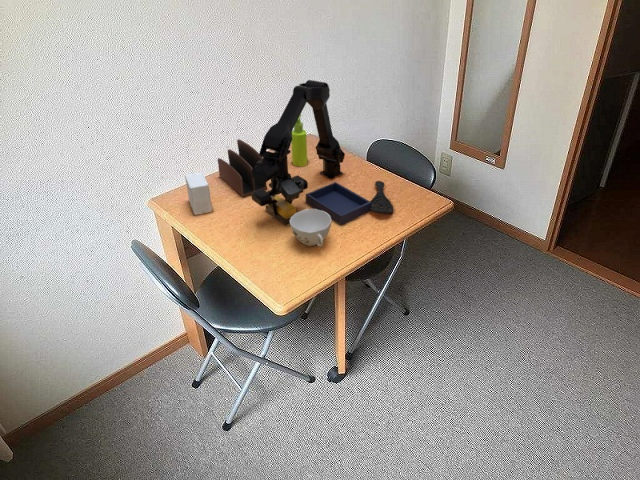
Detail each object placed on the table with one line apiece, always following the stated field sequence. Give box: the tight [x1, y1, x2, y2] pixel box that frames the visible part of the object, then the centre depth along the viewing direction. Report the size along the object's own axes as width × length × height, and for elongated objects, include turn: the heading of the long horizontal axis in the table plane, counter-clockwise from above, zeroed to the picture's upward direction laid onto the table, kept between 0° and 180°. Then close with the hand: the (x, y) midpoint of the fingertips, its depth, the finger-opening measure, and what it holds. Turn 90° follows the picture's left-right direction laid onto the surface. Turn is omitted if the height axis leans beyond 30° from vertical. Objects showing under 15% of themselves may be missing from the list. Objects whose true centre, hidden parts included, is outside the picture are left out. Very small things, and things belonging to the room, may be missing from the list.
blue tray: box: [305, 181, 373, 226], centre depth 166 cm, size 19×14×4 cm
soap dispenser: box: [291, 113, 308, 167], centre depth 189 cm, size 6×7×20 cm
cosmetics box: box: [184, 171, 213, 216], centre depth 165 cm, size 10×6×10 cm, turn 23°
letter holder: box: [217, 138, 268, 198], centre depth 178 cm, size 10×20×14 cm, turn 34°
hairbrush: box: [369, 180, 394, 215], centre depth 169 cm, size 8×4×25 cm
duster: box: [264, 194, 297, 227], centre depth 162 cm, size 12×5×5 cm, turn 39°
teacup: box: [289, 208, 332, 247], centre depth 148 cm, size 15×12×8 cm
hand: (281, 212), depth 162 cm, fingers closed on duster, 5 cm apart
